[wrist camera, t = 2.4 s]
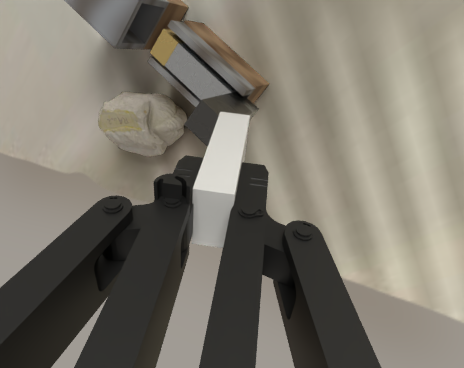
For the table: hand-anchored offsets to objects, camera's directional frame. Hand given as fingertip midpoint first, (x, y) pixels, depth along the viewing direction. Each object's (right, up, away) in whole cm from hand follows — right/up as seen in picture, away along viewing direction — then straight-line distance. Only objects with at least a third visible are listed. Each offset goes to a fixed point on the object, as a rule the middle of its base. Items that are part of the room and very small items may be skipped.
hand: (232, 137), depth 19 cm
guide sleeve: (-1, +13, +30) cm, 33 cm away
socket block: (-11, +22, +31) cm, 40 cm away
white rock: (-11, +8, +37) cm, 39 cm away
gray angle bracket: (-3, +10, +25) cm, 28 cm away
